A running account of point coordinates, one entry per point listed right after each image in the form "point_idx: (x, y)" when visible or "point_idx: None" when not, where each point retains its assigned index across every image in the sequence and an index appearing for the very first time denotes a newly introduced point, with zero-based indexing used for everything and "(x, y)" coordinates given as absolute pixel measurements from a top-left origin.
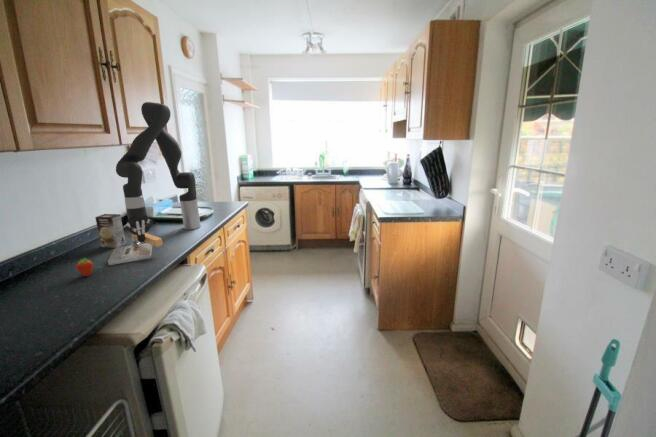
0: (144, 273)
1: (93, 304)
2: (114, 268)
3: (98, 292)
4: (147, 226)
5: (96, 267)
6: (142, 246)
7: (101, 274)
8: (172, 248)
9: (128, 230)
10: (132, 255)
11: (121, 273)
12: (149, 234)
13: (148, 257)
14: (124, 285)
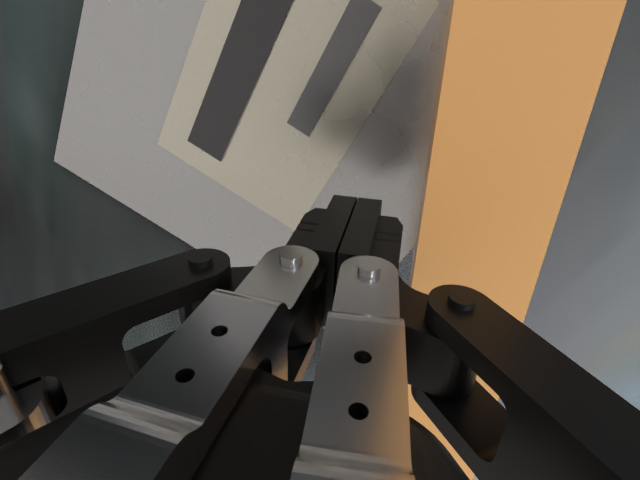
0: None
1: None
2: (109, 245)
3: None
4: (488, 463)
5: (7, 99)
6: (443, 33)
7: (40, 261)
8: (624, 290)
9: (53, 390)
10: (233, 229)
11: (130, 347)
12: (551, 208)
13: None
14: None
